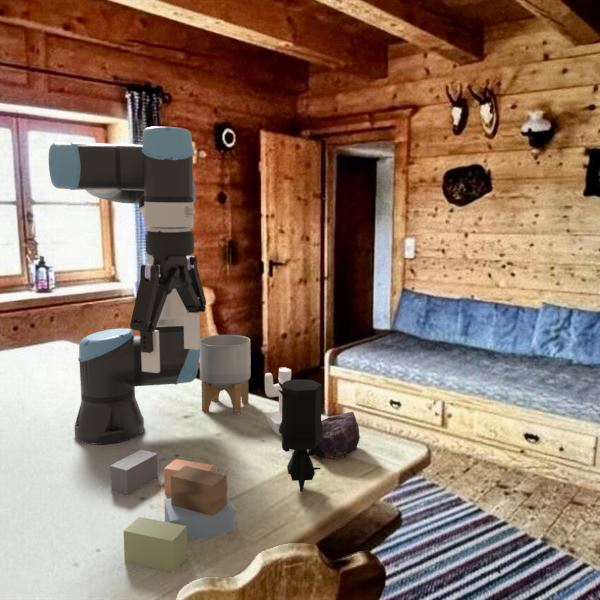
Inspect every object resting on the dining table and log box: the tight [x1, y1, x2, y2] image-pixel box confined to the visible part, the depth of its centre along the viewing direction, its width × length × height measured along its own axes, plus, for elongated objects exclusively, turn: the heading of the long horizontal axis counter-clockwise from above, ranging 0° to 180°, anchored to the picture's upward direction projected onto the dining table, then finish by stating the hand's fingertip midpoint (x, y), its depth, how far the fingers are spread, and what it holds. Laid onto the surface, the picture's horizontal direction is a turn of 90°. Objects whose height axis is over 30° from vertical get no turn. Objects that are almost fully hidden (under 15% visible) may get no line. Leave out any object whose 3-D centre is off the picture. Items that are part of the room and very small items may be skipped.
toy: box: [276, 379, 327, 493], centre depth 103 cm, size 8×9×20 cm
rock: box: [307, 411, 361, 460], centre depth 119 cm, size 12×9×10 cm
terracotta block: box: [163, 458, 216, 496], centre depth 103 cm, size 8×4×5 cm, turn 72°
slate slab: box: [164, 495, 235, 541], centre depth 92 cm, size 10×7×4 cm
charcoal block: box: [109, 449, 159, 497], centre depth 105 cm, size 8×4×5 cm, turn 152°
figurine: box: [263, 366, 292, 437], centre depth 130 cm, size 7×9×15 cm
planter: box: [199, 334, 252, 415], centre depth 146 cm, size 13×13×18 cm
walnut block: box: [170, 466, 228, 516], centre depth 91 cm, size 8×4×5 cm, turn 65°
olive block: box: [123, 516, 188, 574], centre depth 83 cm, size 8×4×5 cm, turn 72°
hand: (173, 359), depth 93 cm, fingers open, 13 cm apart
